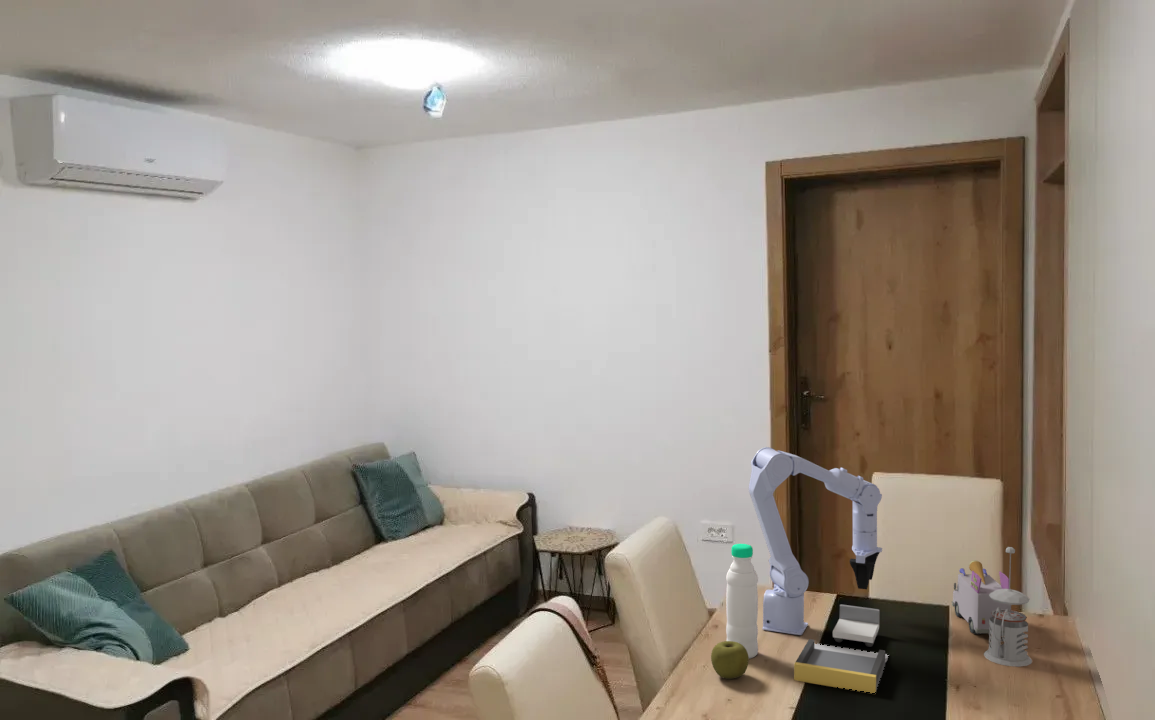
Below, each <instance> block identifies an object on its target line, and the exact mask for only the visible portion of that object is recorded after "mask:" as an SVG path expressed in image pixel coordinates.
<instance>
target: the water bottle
mask: <svg viewBox="0 0 1155 720" xmlns="http://www.w3.org/2000/svg"><path fill="white" fill-rule="evenodd" d="M730 549H731V552H730V553H731V558H732V559H733V561H732V563H731V564H730V567H729V569H728V571H727V572H726V576H725V578H726V579H725V580H726V583H727V584H726V590H725V592H726V596H725V598H726V599H725V602H726V604H725V606H726V608H725V609H726V624H725V625H726V626H725V633H726V640H725V641H734V642H738V643H740V644H742V645H743V646H744V647H745V648H746V650H747V653H748V656H749V659H753V658H755V657H756V656H757V655H758V653H759V652H758V651H759V648H758V646H759V645H758V635H759V632H758V631H759V629H758V615H759V614H758V611H759V603H758V601H759V595H758V583H759V577H758V574H757V572H756V570H755V567H754V564H753V563H752V559H753V555H754V554H753V553H754V549H753V546H752V545H750V544H748V543H735V544H733V545H732V546H731V548H730Z"/></svg>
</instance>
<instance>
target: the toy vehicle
mask: <svg viewBox="0 0 1155 720" xmlns="http://www.w3.org/2000/svg"><path fill="white" fill-rule="evenodd" d="M983 567H984V566H983V563H982V561H981V562H980V561H979V560H972V561H970V562H969V565H968V568H969V570H970V572H971V574H966V571H965V568H959V570H958V571H959V574H957V583H956V582H954V583H953V592H952V601H951V606H952V607H953V608H954V613H955V616H956V617H958V618H963V619H964V620H965V621H966V622H967V623H968V628H969V629H968V630H969V631H970V633H971V634H973V635H981V634H989V632H990V630H991V632H992V629H990V630H989V626H990V624H989V620H990V617H993V616H992V614H991V613H992V611H994V610H997V608H998V607H999V608H1000V609H1002V610H1003V609H1005V610H1006V609H1007V610H1009V605H1008V604H1002V603H999V602H996V601H994V600H992V599H991V598H990V596H989V594H990V593H992V592H994V591H996V590H1000V589H1009V577H1008V576H1007V575H1006V574H1005V573H1003V572H1002V571H998V573H999V574H998V575H999V581H1000V583H999V582H997V581H996V579H994V577H992V576H991V575H990V574H988V573H987V572H988V571H987V569H985V568H983ZM1010 610H1011V611H1012V605H1010ZM999 626H1001V628H1002V625H999ZM1004 627H1005V625H1003V628H1004ZM1001 633H1002V631H1001ZM1003 633H1004V631H1003Z"/></svg>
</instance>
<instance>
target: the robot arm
mask: <svg viewBox="0 0 1155 720" xmlns="http://www.w3.org/2000/svg"><path fill="white" fill-rule="evenodd" d="M750 467H751V472H750V478H749V484H748V493H749V495H750V499H751V502H752V505H753V508H754V511H755V514H756V517H757V519H758V523H759V526H760V528H761V531H762V534H763V538H764V540H765V544H766V546H767V549H768V553H769V556H770V557H769V559H768V562H769V566H770V567H769V577H770V580H771V581H772V583H773V589H766V590H765V592H764V594H763V603H762V630H763V631H769V632H777V633H782V634H789V635H795V636H802V635H803V634H804V632H805V631H806V629H807V627H808V626H809V623H808V622H805V621H804V620H805V617H804V616H805V593H806V591H807V589H809V588H808V587H809V584H810V583H809V577H808V575H807V574H806V572H804V571H803V570H802V567H801V565H800V563H799V561H798V560H797V558H796V557H795V555H794V554H793V552H792V548H791V545H790V542H789V539H788V536H787V533H786V530H785V528H784V524H783V521H782V518H781V516H780V512H779V510H778V506H777V503H776V500H775V497H774V492H775V491H776V489H777V488H778V487H779V486H780V485H781V484H782V483H783V482H784V481H785V480H787V479H788V478H789V477H790V476H791V475H792V476H797V475H799V474H803V475H805V476H807V477H811V478H813V479H816V480H817V481H821V482H822V483H824V486H825V489H827V490H828V491H830V492H831V493H834V494H837V495H838V496H840V497H844V498H846V499H848V500H851V501H852V546H851V550H852V551H853V553H854V555H855V558H850V559H849V564H850V566H851V568H852V571H853V572H854V576H855V582H856V585H857V589H858V590H868V588H869V582H870V581H872V580H873V576H874V573H875V567H876V562H877V559H878V557H879V555H880V553H882V551H883V548H882V547H881V546H880V547H879V546H878V507H879V505H880V502H881V500H882V498H883V494H882V493H881V491H880V488H879V487H878V485H877V484H874V483H872V482H869V481H867V480H864V477H863V476H860V475H857V476H856V475H853V474H852V473H849V472H848V469H846V468H844V467H840V468H837V467H834V468H832V469H829V470H828V469H826V468H824V467H822V466H820V465H817V464H815V463H814V462H812V461H811V460H810V461H809V460H807V459H806V458H803V457H800V456H798V455H796V454H794V453H793V454H792V453H790V452H786V451H782V450H779V449H778V450H776V449H774V448H772V447H769V446H768V447H767V446H765V447H764V446H763V447H762V448H760V449H759V450H757V451H756V453H755V455H753V458H752V459H751V461H750Z"/></svg>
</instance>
